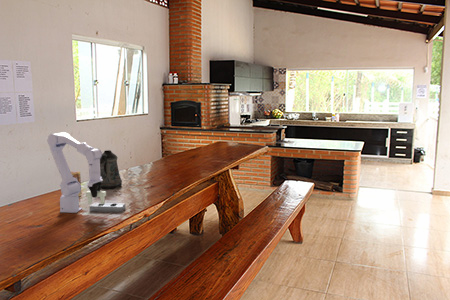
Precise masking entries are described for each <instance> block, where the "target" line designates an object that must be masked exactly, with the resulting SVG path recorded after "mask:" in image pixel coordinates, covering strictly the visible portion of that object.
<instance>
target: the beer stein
mask: <svg viewBox="0 0 450 300" xmlns="http://www.w3.org/2000/svg"><path fill="white" fill-rule="evenodd" d="M100 177H102V179H103V181H100V182H103V183H102V186H101V188H100V190H103V191H105V190H108V191H109V190H115V189H116V190H117V189H120V188H122V184H123V180H122V178H121V175H120V171H119V166H118V156H117V155H116V154H115V153H113V152H112V150H110V149H108V150H104V152H102V157H101V158H100Z"/></svg>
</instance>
